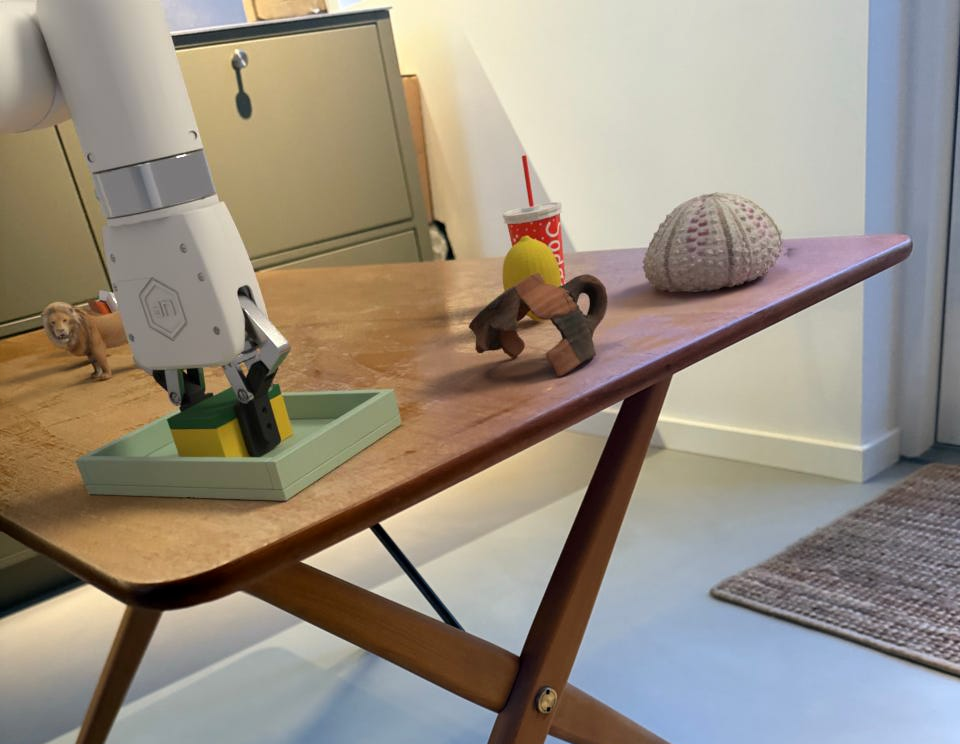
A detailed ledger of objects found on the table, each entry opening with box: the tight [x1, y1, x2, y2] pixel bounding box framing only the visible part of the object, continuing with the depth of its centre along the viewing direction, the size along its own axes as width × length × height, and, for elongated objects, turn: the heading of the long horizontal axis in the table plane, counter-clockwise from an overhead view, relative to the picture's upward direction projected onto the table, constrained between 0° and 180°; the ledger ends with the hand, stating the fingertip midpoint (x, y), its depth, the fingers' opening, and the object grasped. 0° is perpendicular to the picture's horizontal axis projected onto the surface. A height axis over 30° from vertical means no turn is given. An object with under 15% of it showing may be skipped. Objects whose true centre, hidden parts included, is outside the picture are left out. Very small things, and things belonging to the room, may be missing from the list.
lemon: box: [502, 236, 561, 323], centre depth 99 cm, size 6×6×8 cm
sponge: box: [167, 383, 293, 457], centre depth 76 cm, size 5×8×4 cm, turn 151°
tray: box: [74, 388, 403, 502], centre depth 78 cm, size 20×15×3 cm
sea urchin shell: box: [642, 191, 785, 293], centre depth 100 cm, size 13×14×8 cm
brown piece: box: [468, 273, 609, 378], centre depth 86 cm, size 12×10×8 cm
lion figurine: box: [40, 301, 129, 381], centre depth 116 cm, size 15×5×9 cm, turn 126°
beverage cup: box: [502, 154, 567, 286], centre depth 107 cm, size 6×6×14 cm
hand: (238, 447), depth 77 cm, fingers closed on sponge, 4 cm apart
